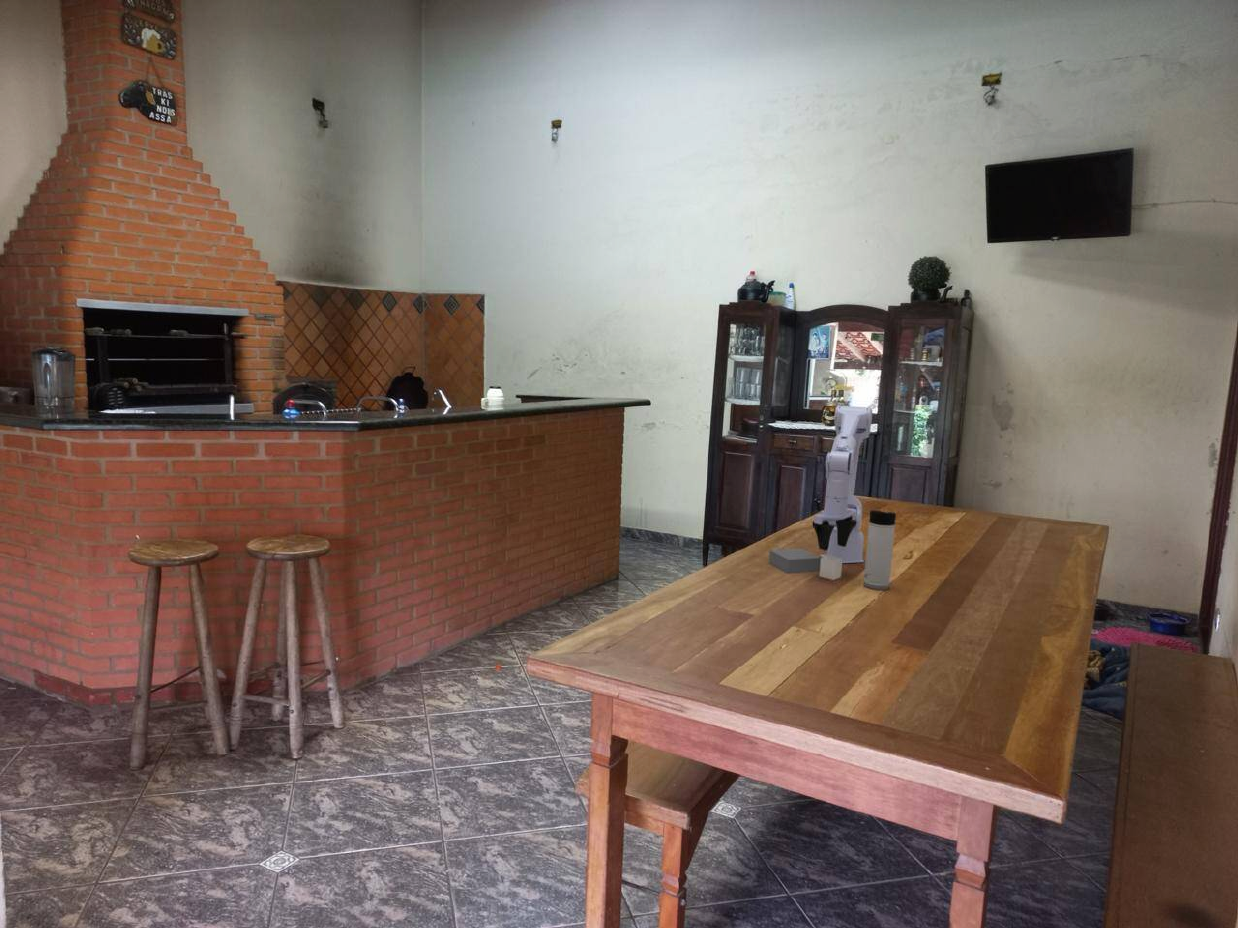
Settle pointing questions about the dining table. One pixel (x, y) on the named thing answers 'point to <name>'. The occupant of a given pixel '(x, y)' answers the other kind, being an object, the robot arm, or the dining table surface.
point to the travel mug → (879, 550)
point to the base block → (794, 560)
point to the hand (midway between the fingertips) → (832, 547)
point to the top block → (830, 567)
